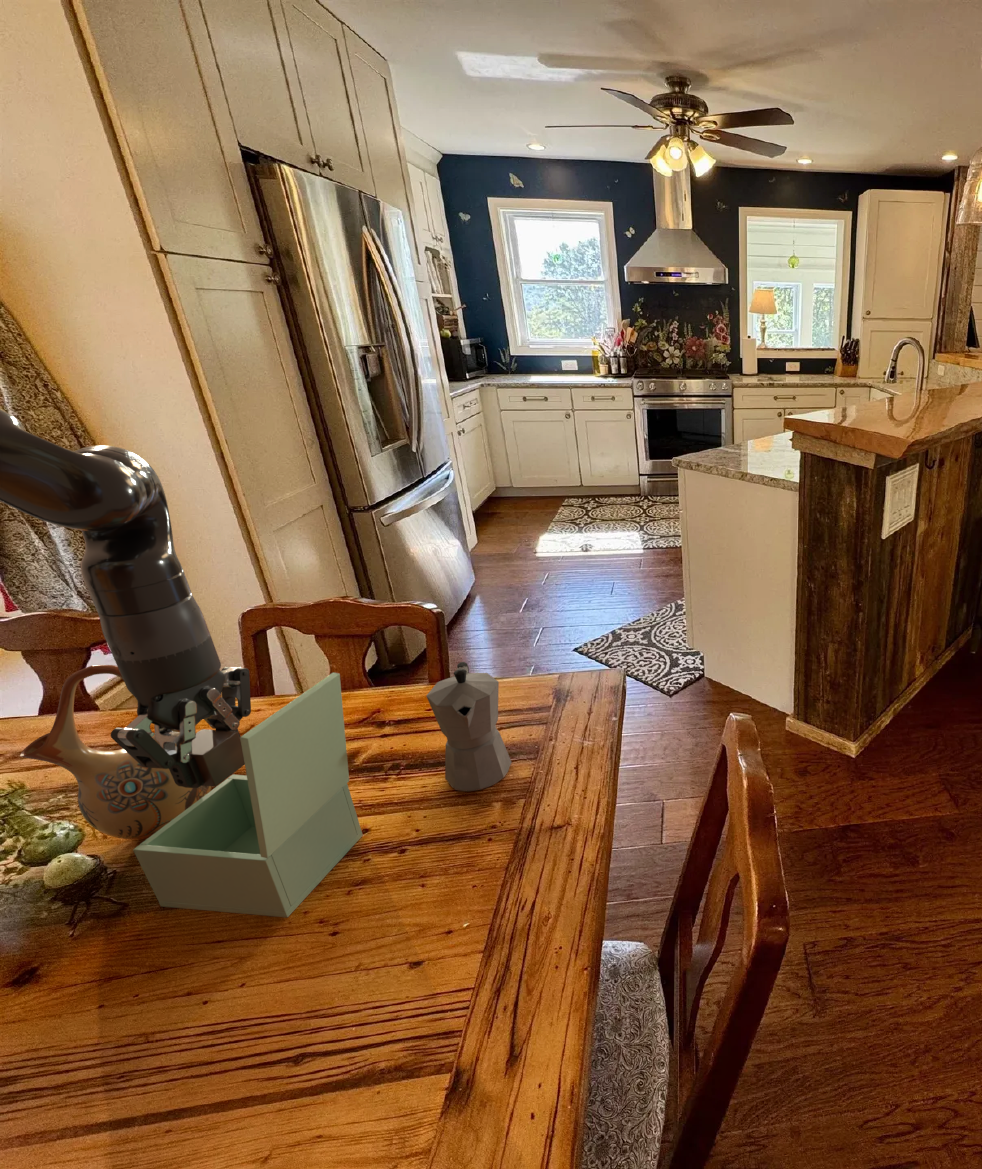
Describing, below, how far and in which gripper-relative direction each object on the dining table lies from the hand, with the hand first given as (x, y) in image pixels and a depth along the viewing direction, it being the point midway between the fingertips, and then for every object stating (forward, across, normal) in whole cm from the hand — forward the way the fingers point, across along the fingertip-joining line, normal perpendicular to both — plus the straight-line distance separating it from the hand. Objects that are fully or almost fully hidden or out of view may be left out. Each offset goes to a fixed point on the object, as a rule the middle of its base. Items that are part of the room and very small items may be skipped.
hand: (214, 770), depth 72 cm
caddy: (+15, 0, -2) cm, 15 cm away
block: (0, 0, 0) cm, 0 cm away
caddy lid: (-2, 0, -11) cm, 11 cm away
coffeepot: (+15, +21, -18) cm, 32 cm away
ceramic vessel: (+15, +5, +17) cm, 23 cm away
